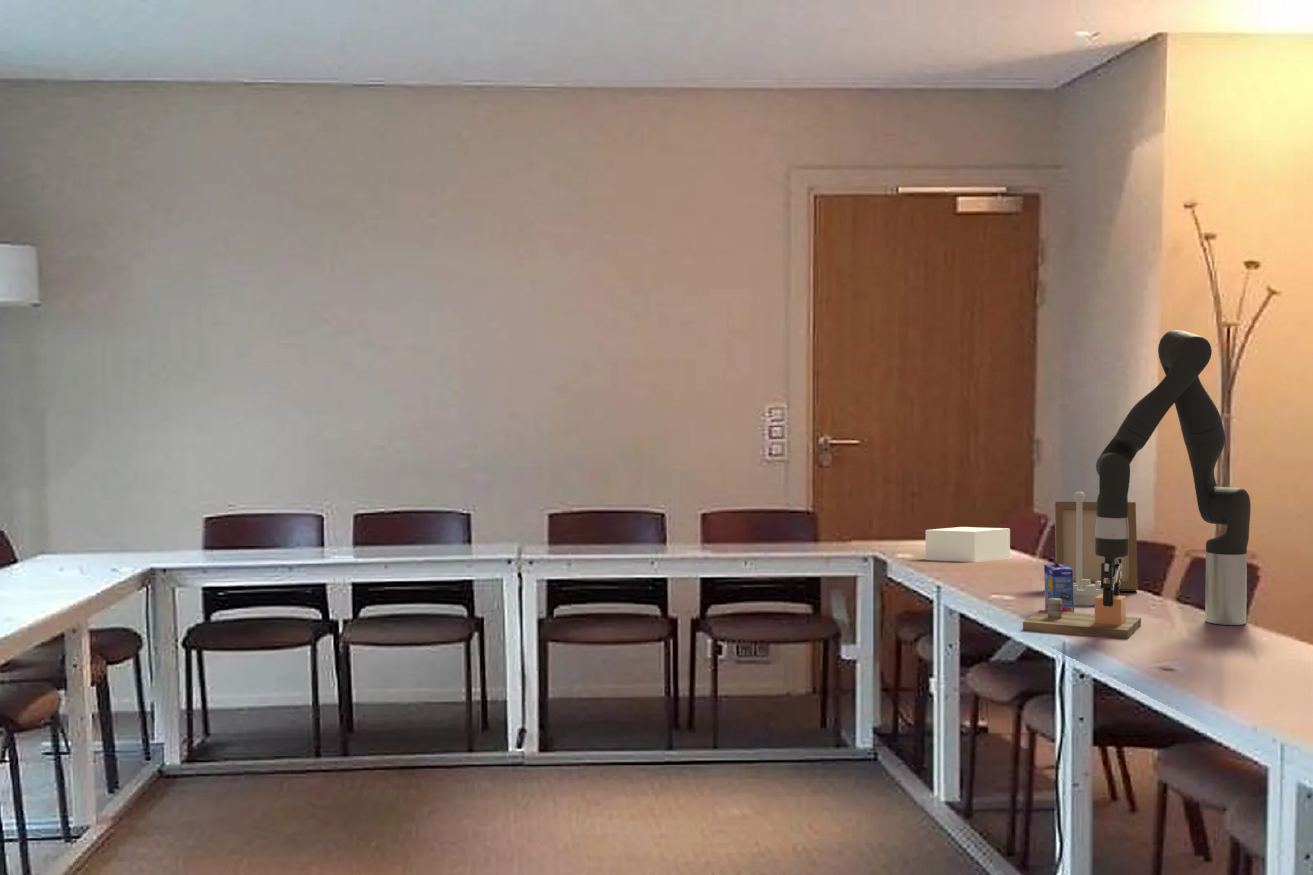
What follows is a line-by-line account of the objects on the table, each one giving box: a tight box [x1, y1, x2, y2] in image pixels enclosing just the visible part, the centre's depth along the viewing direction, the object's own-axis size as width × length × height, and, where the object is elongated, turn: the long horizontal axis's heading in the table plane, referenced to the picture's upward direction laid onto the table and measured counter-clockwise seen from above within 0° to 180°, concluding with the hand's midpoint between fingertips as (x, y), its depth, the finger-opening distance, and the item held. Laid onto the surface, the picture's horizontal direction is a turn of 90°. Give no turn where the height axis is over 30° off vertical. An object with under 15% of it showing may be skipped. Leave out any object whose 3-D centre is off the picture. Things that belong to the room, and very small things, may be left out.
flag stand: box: [1073, 491, 1103, 606], centre depth 350 cm, size 13×13×30 cm
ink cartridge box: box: [1043, 556, 1075, 613], centre depth 333 cm, size 10×6×14 cm, turn 177°
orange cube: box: [1094, 594, 1127, 625], centre depth 310 cm, size 6×6×6 cm
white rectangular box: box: [925, 526, 1011, 563], centre depth 437 cm, size 14×29×10 cm, turn 94°
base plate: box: [1022, 598, 1142, 640], centre depth 313 cm, size 18×24×6 cm
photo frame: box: [1054, 501, 1139, 592], centre depth 373 cm, size 15×22×25 cm
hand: (1111, 603), depth 309 cm, fingers open, 8 cm apart
